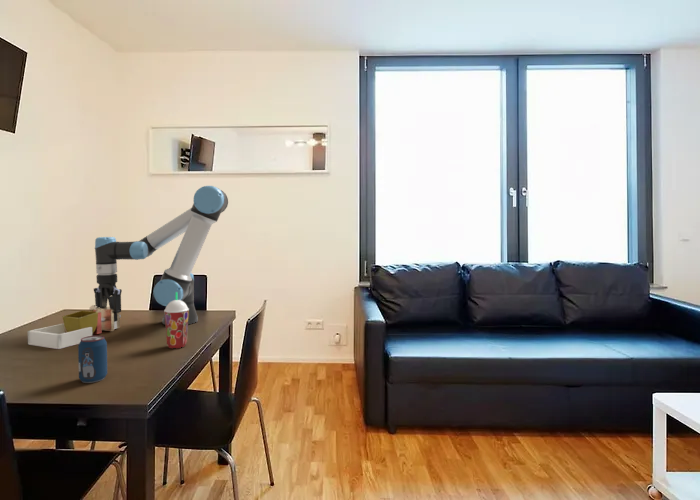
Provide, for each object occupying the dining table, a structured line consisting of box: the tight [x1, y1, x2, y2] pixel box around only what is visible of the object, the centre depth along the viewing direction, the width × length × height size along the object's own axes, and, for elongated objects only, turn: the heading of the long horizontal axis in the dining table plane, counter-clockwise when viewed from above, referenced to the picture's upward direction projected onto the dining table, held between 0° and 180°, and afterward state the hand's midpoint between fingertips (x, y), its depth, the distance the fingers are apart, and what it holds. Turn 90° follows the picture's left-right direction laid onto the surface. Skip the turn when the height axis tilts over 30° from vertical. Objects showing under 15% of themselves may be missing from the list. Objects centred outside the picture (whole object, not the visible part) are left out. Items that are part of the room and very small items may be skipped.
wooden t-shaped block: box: [88, 304, 122, 335], centre depth 173 cm, size 9×13×11 cm
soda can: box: [77, 334, 108, 384], centre depth 117 cm, size 7×7×12 cm
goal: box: [27, 323, 93, 350], centre depth 155 cm, size 16×13×5 cm
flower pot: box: [61, 310, 98, 335], centre depth 163 cm, size 9×9×9 cm
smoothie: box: [163, 292, 189, 349], centre depth 151 cm, size 8×8×20 cm
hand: (109, 328), depth 175 cm, fingers open, 4 cm apart
